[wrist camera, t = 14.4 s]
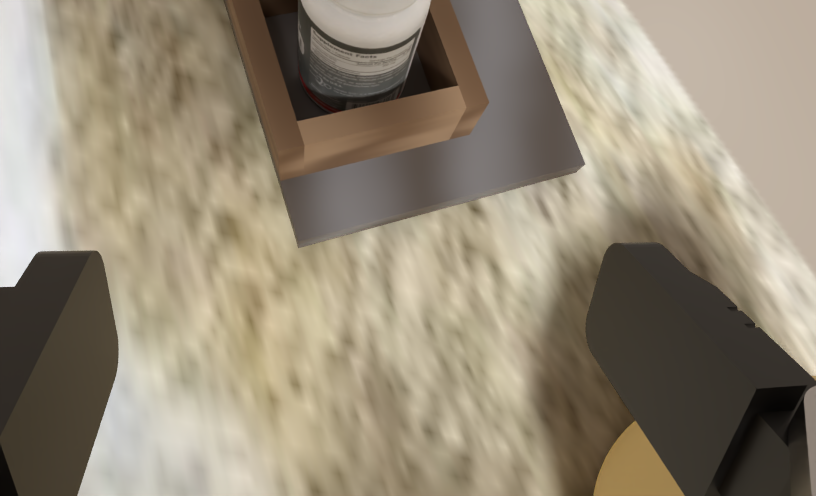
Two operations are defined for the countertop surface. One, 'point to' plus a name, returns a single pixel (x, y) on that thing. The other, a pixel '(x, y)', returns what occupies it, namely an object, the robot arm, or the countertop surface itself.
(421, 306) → the countertop surface
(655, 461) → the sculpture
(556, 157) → the socket dock
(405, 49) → the pill bottle
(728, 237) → the countertop surface
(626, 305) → the robot arm
